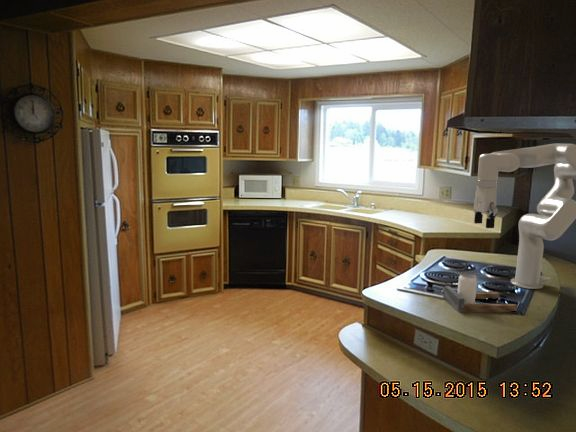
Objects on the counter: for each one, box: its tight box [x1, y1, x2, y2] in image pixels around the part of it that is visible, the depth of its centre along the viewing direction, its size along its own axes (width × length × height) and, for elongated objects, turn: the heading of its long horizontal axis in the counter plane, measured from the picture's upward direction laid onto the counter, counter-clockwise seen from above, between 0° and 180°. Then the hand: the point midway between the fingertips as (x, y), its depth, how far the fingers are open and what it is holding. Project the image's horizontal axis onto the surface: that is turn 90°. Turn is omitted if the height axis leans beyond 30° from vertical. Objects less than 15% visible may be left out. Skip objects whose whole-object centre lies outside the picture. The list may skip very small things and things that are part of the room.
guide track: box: [442, 285, 518, 313], centre depth 166 cm, size 22×14×5 cm, turn 92°
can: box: [456, 272, 478, 304], centre depth 165 cm, size 6×6×12 cm
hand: (483, 225), depth 179 cm, fingers open, 9 cm apart
